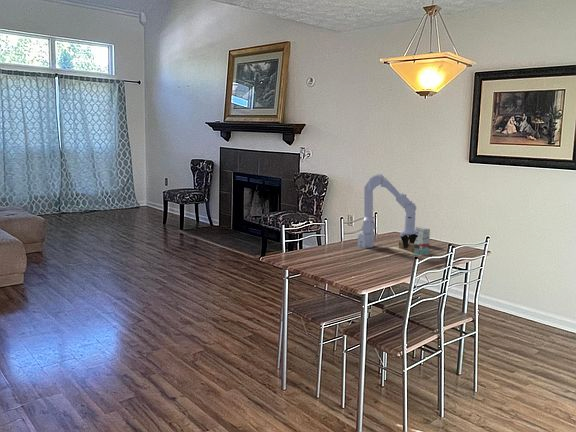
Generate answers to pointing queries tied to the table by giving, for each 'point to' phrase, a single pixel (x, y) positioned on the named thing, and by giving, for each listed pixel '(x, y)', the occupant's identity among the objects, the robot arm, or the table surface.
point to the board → (405, 251)
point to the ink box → (422, 236)
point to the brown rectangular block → (409, 246)
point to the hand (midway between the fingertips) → (408, 247)
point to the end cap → (421, 251)
